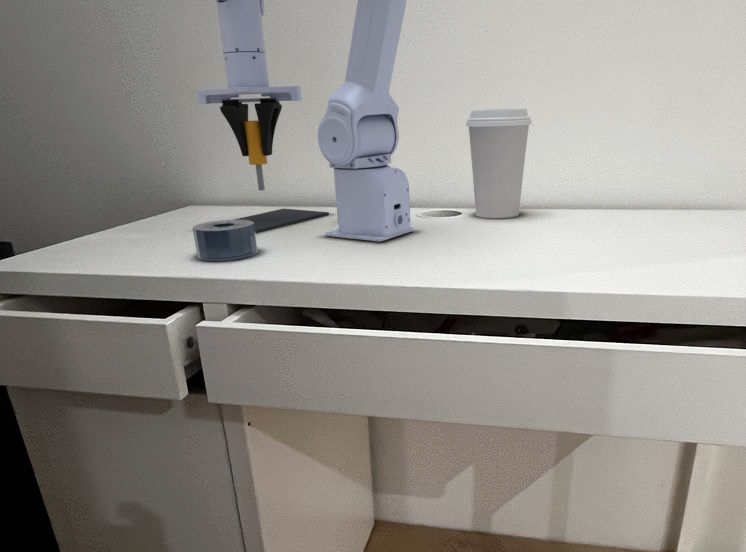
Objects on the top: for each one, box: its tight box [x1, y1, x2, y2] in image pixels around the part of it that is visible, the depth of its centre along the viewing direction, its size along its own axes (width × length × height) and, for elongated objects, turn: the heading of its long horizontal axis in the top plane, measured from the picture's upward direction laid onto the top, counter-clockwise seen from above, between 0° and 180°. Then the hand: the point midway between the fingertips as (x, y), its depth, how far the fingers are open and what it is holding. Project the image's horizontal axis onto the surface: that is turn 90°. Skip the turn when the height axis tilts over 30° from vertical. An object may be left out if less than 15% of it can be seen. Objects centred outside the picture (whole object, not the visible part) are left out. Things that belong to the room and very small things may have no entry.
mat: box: [233, 208, 330, 234], centre depth 95 cm, size 10×18×1 cm, turn 147°
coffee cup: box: [465, 108, 533, 219], centre depth 92 cm, size 10×10×15 cm
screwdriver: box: [244, 120, 268, 191], centre depth 92 cm, size 3×3×10 cm
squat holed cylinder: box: [192, 219, 258, 262], centre depth 75 cm, size 7×7×4 cm
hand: (257, 155), depth 92 cm, fingers closed on screwdriver, 2 cm apart
